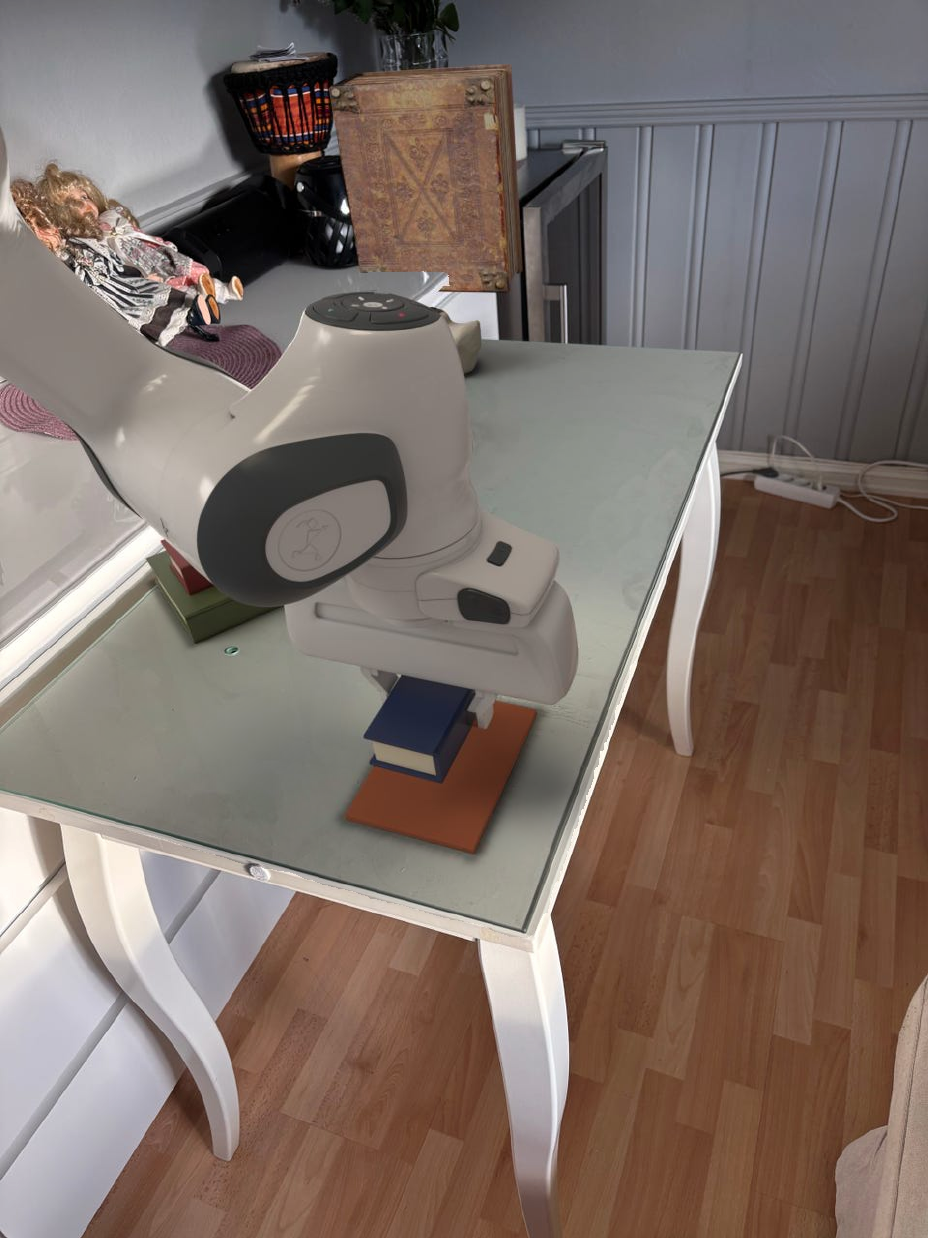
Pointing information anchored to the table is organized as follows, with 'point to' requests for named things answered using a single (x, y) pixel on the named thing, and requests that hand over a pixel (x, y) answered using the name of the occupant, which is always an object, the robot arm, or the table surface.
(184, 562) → the burgundy book
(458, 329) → the ceramic sculpture
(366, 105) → the book
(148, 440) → the robot arm
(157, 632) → the table surface
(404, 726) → the navy book
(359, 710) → the table surface
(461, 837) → the rubber mat
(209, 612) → the olive book
